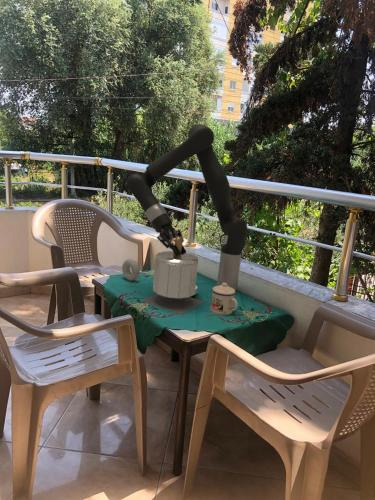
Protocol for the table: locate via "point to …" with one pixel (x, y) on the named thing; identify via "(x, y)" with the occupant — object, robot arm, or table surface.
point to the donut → (126, 269)
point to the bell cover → (175, 273)
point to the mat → (173, 303)
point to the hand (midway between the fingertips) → (181, 254)
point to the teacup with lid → (223, 299)
